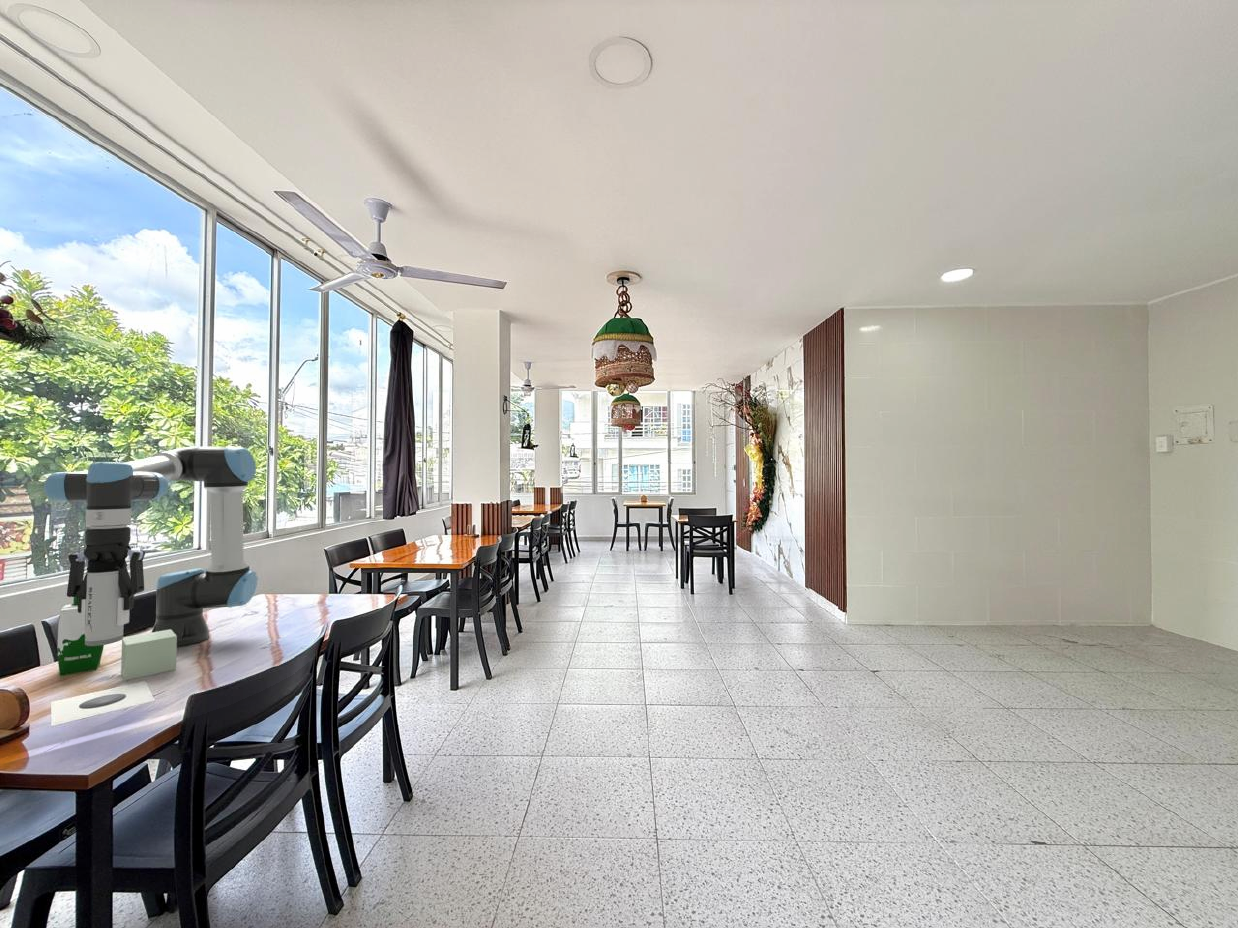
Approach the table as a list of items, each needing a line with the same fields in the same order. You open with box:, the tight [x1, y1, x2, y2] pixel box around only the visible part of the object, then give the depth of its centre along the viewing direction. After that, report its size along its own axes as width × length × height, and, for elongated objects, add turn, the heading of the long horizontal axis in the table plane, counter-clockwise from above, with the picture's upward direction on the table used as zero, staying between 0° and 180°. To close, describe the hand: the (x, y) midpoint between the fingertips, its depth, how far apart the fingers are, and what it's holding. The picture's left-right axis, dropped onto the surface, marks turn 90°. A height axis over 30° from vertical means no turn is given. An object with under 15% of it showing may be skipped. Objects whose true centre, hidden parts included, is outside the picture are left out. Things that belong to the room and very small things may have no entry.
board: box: [50, 680, 156, 727], centre depth 116 cm, size 18×16×1 cm
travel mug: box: [85, 559, 126, 646], centre depth 117 cm, size 6×7×20 cm
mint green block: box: [120, 629, 178, 681], centre depth 136 cm, size 10×10×10 cm
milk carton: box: [57, 597, 105, 677], centre depth 139 cm, size 9×9×20 cm
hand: (105, 624), depth 116 cm, fingers closed on travel mug, 6 cm apart
